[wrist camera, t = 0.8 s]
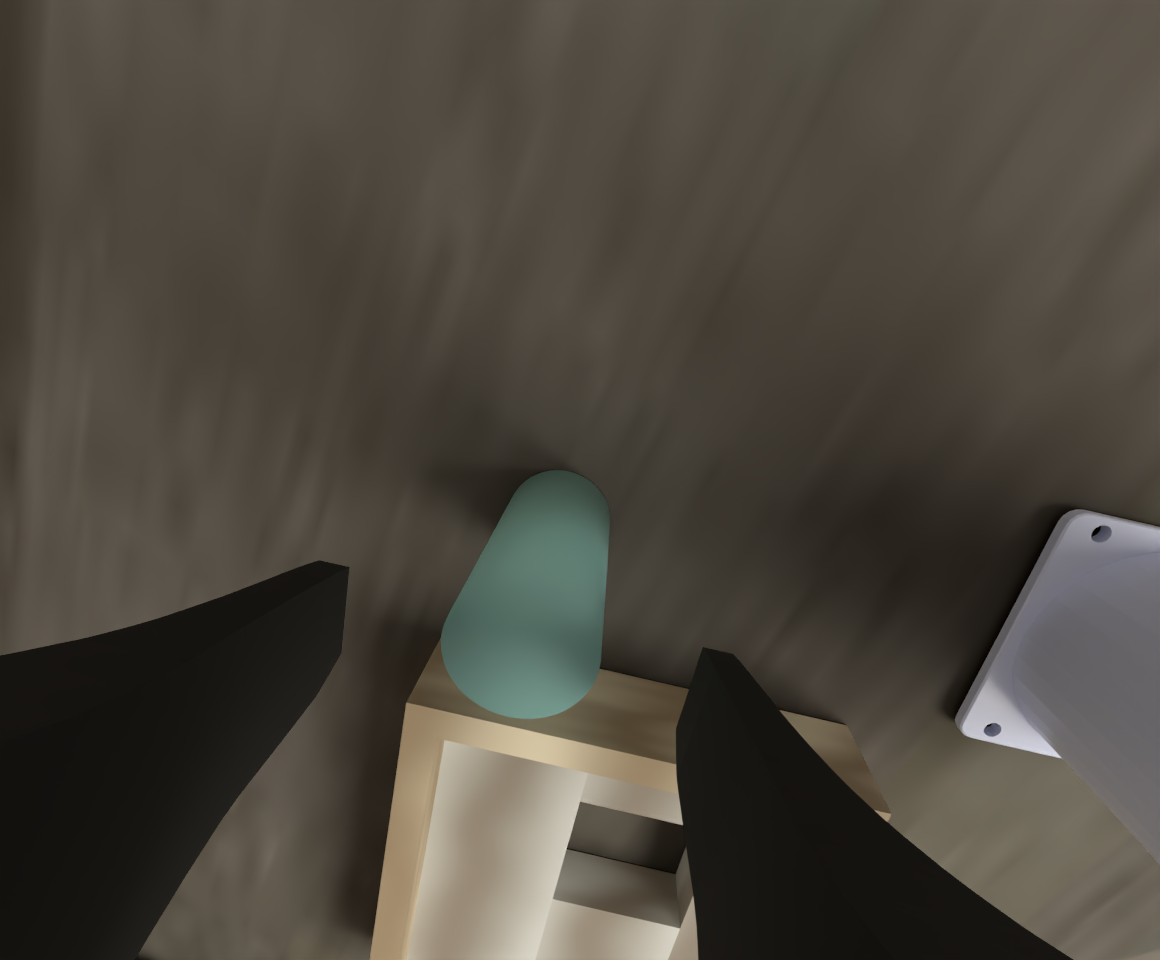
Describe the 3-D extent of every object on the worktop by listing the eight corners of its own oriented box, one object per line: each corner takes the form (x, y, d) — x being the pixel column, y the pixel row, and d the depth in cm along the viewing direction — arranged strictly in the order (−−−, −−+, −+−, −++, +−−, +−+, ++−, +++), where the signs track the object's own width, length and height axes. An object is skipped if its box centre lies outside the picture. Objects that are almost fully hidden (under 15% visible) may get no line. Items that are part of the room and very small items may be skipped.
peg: (621, 483, 18) (618, 601, 11) (597, 575, 19) (582, 733, 12) (517, 459, 18) (453, 563, 11) (500, 553, 19) (431, 699, 12)
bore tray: (847, 725, 20) (891, 813, 16) (712, 1021, 25) (726, 1134, 22) (443, 632, 20) (406, 702, 16) (392, 947, 25) (357, 1048, 22)
